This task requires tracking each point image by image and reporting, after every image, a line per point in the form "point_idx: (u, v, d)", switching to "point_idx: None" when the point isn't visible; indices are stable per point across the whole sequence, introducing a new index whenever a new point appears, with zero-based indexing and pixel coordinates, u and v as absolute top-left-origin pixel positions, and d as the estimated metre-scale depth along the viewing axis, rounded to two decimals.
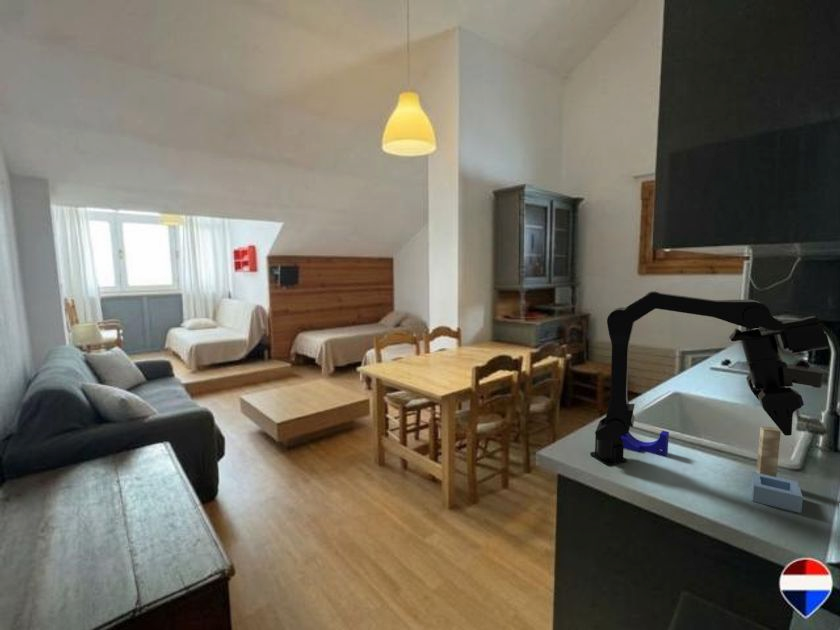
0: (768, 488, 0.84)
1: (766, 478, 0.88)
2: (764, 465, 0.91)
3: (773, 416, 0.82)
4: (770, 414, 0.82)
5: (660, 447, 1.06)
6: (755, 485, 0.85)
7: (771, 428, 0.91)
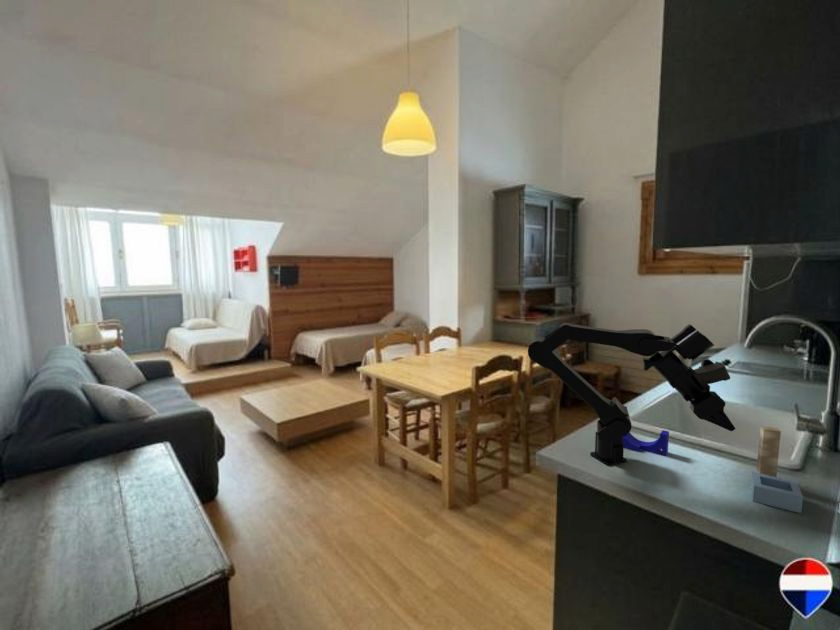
0: (768, 488, 0.84)
1: (766, 478, 0.88)
2: (764, 465, 0.91)
3: (712, 420, 0.90)
4: (709, 420, 0.90)
5: (660, 447, 1.06)
6: (755, 485, 0.85)
7: (771, 428, 0.91)
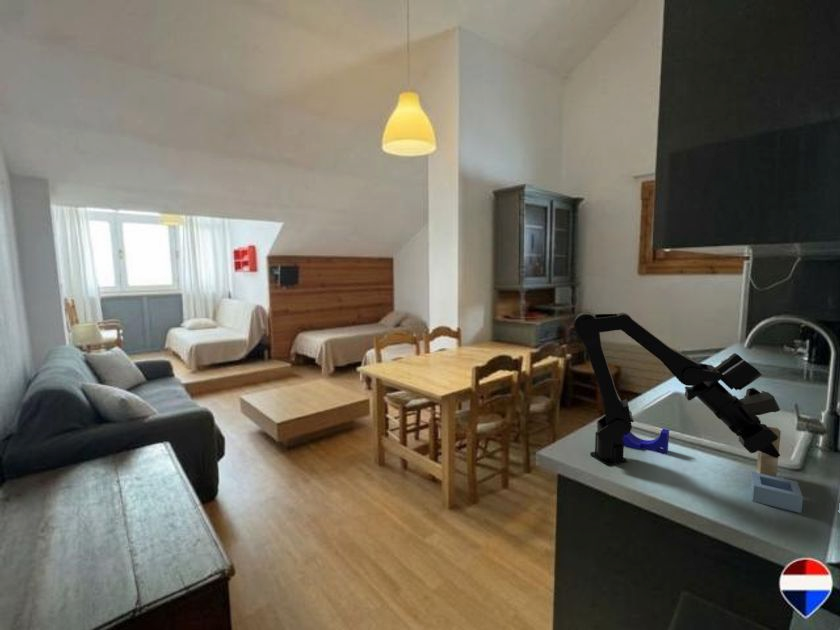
0: (768, 488, 0.84)
1: (766, 478, 0.88)
2: (764, 465, 0.91)
3: None
4: None
5: (661, 445, 1.07)
6: (755, 485, 0.85)
7: (771, 428, 0.91)
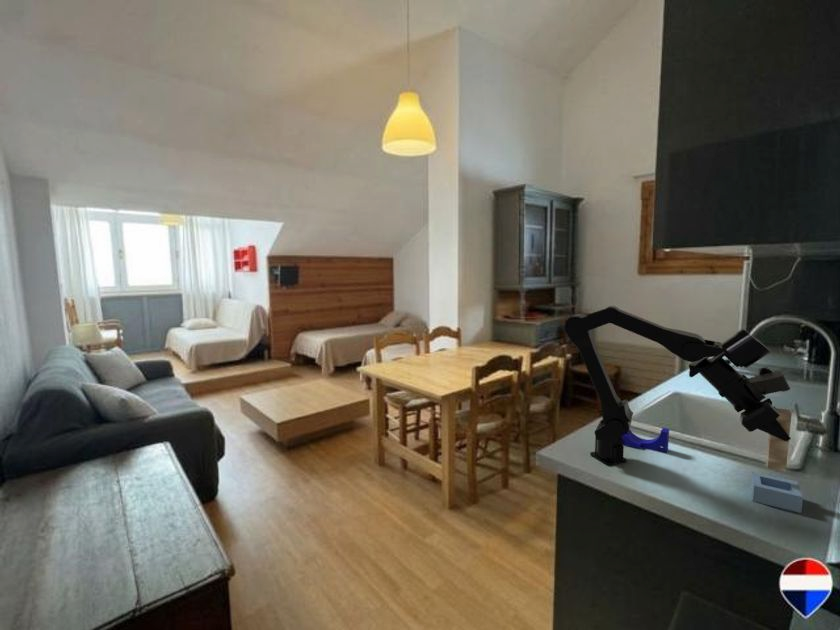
0: (768, 488, 0.84)
1: (766, 478, 0.88)
2: (773, 449, 0.86)
3: (763, 428, 0.85)
4: (759, 427, 0.85)
5: (661, 444, 1.08)
6: (755, 485, 0.85)
7: (782, 410, 0.85)
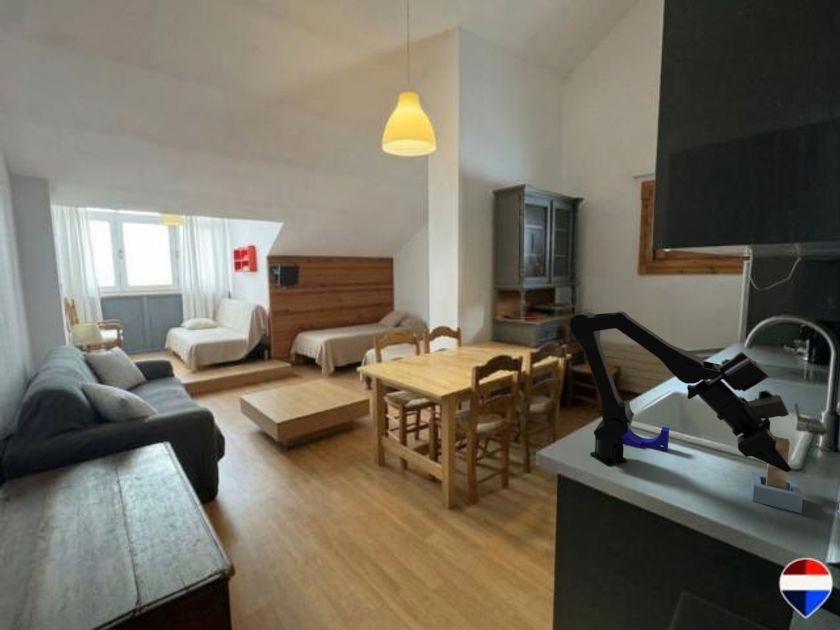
0: (768, 488, 0.84)
1: None
2: (771, 478, 0.85)
3: (762, 458, 0.82)
4: (758, 457, 0.82)
5: (661, 443, 1.09)
6: (755, 485, 0.85)
7: (780, 439, 0.84)
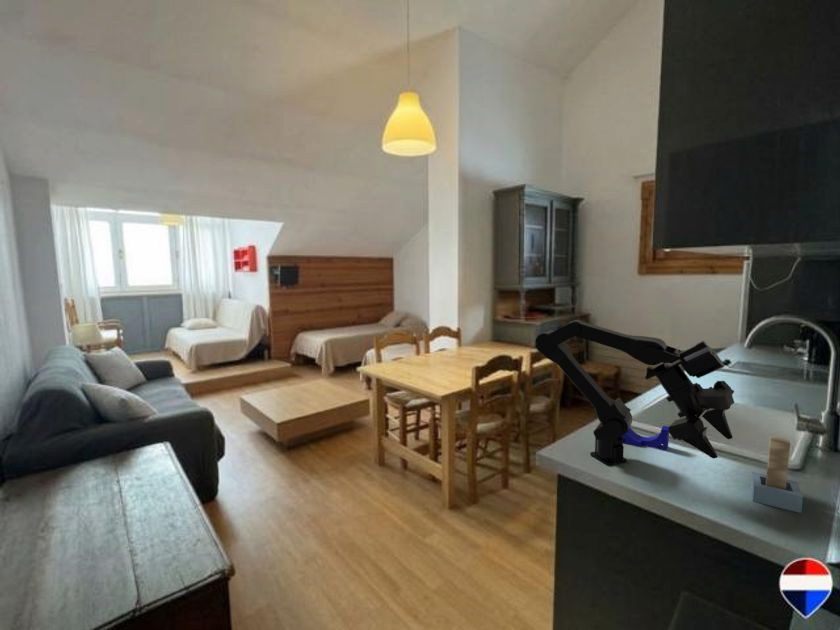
0: (768, 488, 0.84)
1: None
2: (771, 478, 0.85)
3: (691, 443, 0.89)
4: (688, 441, 0.89)
5: (661, 442, 1.09)
6: (755, 485, 0.85)
7: (781, 439, 0.84)
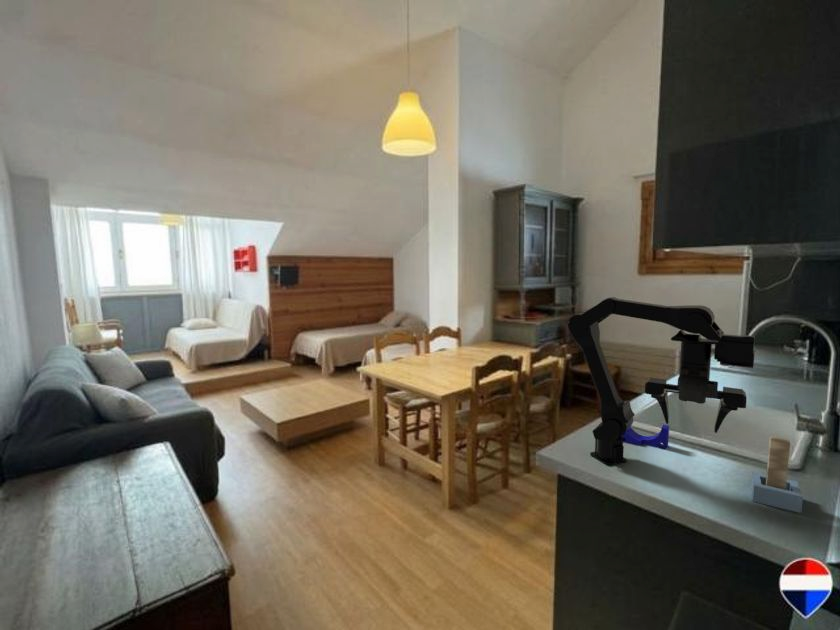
0: (768, 488, 0.84)
1: None
2: (771, 478, 0.85)
3: None
4: None
5: (661, 441, 1.10)
6: (755, 485, 0.85)
7: (781, 439, 0.84)
